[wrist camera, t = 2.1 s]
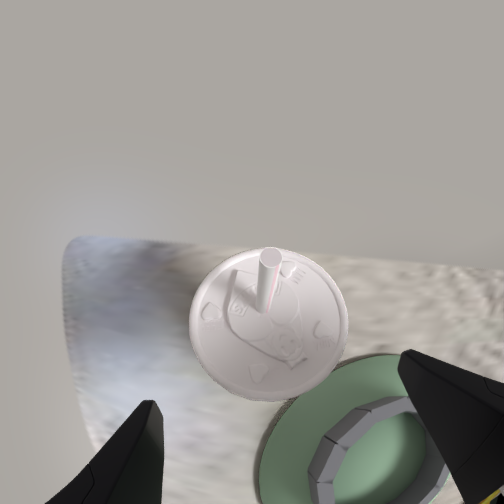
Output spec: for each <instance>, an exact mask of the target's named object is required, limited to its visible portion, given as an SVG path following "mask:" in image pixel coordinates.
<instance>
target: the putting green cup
mask: <svg viewBox="0 0 504 504" xmlns="http://www.w3.org/2000/svg"><path fill="white" fill-rule="evenodd" d="M399 360H400V356H399V355H384V356H375V357H370V358H366V359H362V360H359V361H356V362H353V363H350V364H347V365H345V366H343V367H341V368H339V369H337V370H334V371H333V372H331V373H330V374H329V376H328V377H327V378H326V379H325V380H323V381H322V382H321V383H320V384H319V385H317V386H316V387H315V388H313V389H311V390H310V391H308V392H306V393H304V394H302V395H300V396H299V397H298V398H297V399H296V400H295V401H294V402H293V403H292V405H291V406H290V407H289V408H288V409H287V410H286V411H285V413H284V414H283V416H282V417H281V419H280V420H279V421H278V423H277V424H276V426H275V428H274V429H273V431H272V433H271V435H270V437H269V439H268V441H267V444H266V446H265V449H264V452H263V455H262V459H261V464H260V470H259V487H260V495H261V499H262V502H263V504H430V503H431V502H432V501H433V500H434V499H435V498H436V496H437V495H438V494H439V492H440V491H441V490H442V488H443V487H444V485H445V483H446V482H447V480H448V478H449V476H450V474H451V473H450V471H449V469H448V467H447V465H446V463H445V461H444V460H443V458H442V456H441V454H440V452H439V450H438V448H437V446H436V445H435V443H434V441H433V439H432V437H431V436H430V434H429V432H428V430H427V428H426V427H425V425H424V423H423V421H422V420H421V418H420V416H419V415H418V413H417V411H416V409H415V408H414V406H413V404H412V402H411V400H410V398H409V396H408V394H407V392H406V389H405V387H404V385H403V383H402V381H401V379H400V376H399V374H398V371H397V367H398V363H399Z"/></svg>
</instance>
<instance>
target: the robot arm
mask: <svg viewBox="0 0 504 504" xmlns="http://www.w3.org/2000/svg"><path fill="white" fill-rule="evenodd" d="M397 371H398V374H399V376H400V379H401V381H402V383H403V385H404V387H405V389H406V392H407V394H408V396H409V398H410V400H411V402H412V404H413V406H414V408H415V409H416V411H417V413H418V415H419V416H420V418H421V420H422V421H423V423H424V425H425V427H426V428H427V430H428V432H429V434H430V436H431V437H432V439H433V441H434V443H435V445H436V446H437V448H438V450H439V452H440V454H441V456H442V458H443V460H444V461H445V463H446V465H447V467H448V469H449V471H450V473H451V475H452V477H453V479H454V481H455V483H456V485H457V487H458V490H459V492H460V494H461V496H462V498H463V500H464V502H465V504H479V503H480V502H482V501H483V500H484V499H486V498H487V497H489V496H490V495H491V494H493V493H494V492H495V491H497V490H498V489H499V490H500V493H498V494H497V495H496V496H495V497H494V498H493V499H492V500H491V501H490V504H504V383H501V382H498V381H495V380H492V379H489V378H486V377H483V376H481V375H478V374H475V373H472V372H470V371H467V370H464V369H462V368H459V367H456V366H454V365H451V364H449V363H446V362H443V361H441V360H438V359H436V358H433V357H430V356H428V355H425V354H423V353H420V352H418V351H415V350H413V349H409V350H406V351H404V352H402V353H401V356H400V360H399V363H398V367H397ZM163 467H164V431H163V416H162V413H161V411H160V409H159V407H158V406H157V404H156V402H155V401H154V400H143V401H142V402H141V403H140V404H139V405H138V407H137V408H136V409H135V410H134V411H133V412H132V414H131V415H130V416H129V417H128V418H127V419H126V421H125V422H124V423H123V424H122V425H121V426H120V427H119V429H118V430H117V431H116V432H115V433H114V434H113V436H112V437H111V438H110V439H109V440H108V441H107V442H106V444H105V445H104V446H103V447H102V448H101V449H100V450H99V452H98V453H97V454H96V455H95V456H94V457H93V459H92V460H91V461H90V462H89V464H87V465H86V466H85V468H84V469H83V470H82V471H81V472H80V473H79V474H78V475H77V476H76V477H75V478H74V479H73V480H72V481H71V482H70V483H69V484H68V485H67V486H65V487H64V488H63V489H62V490H61V491H60V492H59V493H57V494H56V495H55V496H54V497H53V498H51V499H50V500H49V501H48V502H46V503H45V504H161V500H162V482H163Z"/></svg>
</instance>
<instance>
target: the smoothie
mask: <svg viewBox="0 0 504 504" xmlns="http://www.w3.org/2000/svg"><path fill="white" fill-rule="evenodd" d="M189 334H190V340H191V344H192V347H193V350H194V352H195V355H196V357H197V359H198V361H199V362H200V364H201V365H202V367H203V368H204V370H205V371H206V372H207V373H208V375H209V376H210V377H211V378H212V379H213V380H214V381H215V382H217V383H218V384H219V385H221V386H222V387H223V388H225V389H226V390H228V391H229V392H231V393H233V394H235V395H238V396H241V397H244V398H246V399H249V400H254V401H267V402H275V401H280V400H286V399H290V398H294V397H297V396H299V395H302V394H304V393H306V392H308V391H310V390H311V389H313V388H315V387H316V386H317V385H319V384H320V383H321V382H322V381H323V380H325V379H326V378H327V377H328V376H329V374H330V373H331V372H332V371H333V370H334V368H335V367H336V365H337V364H338V362H339V360H340V358H341V356H342V354H343V351H344V348H345V345H346V341H347V336H348V314H347V309H346V305H345V302H344V299H343V296H342V294H341V292H340V290H339V288H338V286H337V285H336V283H335V282H334V280H333V279H332V278H331V277H330V275H329V274H328V273H327V272H326V271H325V270H324V269H323V268H322V267H320V266H319V265H318V264H317V263H315V262H314V261H312V260H310V259H309V258H307V257H305V256H303V255H301V254H298V253H295V252H293V251H289V250H285V249H279V248H275V247H267V248H257V249H251V250H247V251H243V252H240V253H238V254H235V255H233V256H231V257H229V258H227V259H226V260H224V261H222V262H221V263H220V264H218V265H217V266H216V267H215V268H214V269H212V270H211V271H210V273H209V274H208V275H207V276H206V277H205V278H204V280H203V281H202V282H201V284H200V286H199V287H198V289H197V291H196V293H195V295H194V298H193V301H192V304H191V308H190V314H189Z"/></svg>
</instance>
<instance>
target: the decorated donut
mask: <svg viewBox="0 0 504 504" xmlns="http://www.w3.org/2000/svg"><path fill="white" fill-rule="evenodd" d="M498 493H500V490H499V489H498V490H497V491H495V492H494V493H493V494H491V495H490V496H489V497H487V498H486V499H484V500H483V501H482V502H480V503H479V504H490V501H491V500H492V499H493V498H494V497H495V496H496V495H497V494H498Z"/></svg>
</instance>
